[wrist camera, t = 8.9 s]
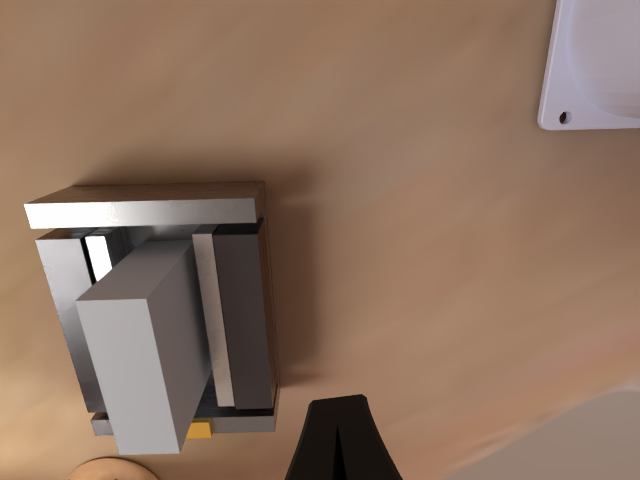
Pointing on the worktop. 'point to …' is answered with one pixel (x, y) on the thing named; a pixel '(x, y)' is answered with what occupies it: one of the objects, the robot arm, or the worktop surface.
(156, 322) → the panel
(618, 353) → the worktop surface
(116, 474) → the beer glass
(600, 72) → the robot arm
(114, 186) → the rack
